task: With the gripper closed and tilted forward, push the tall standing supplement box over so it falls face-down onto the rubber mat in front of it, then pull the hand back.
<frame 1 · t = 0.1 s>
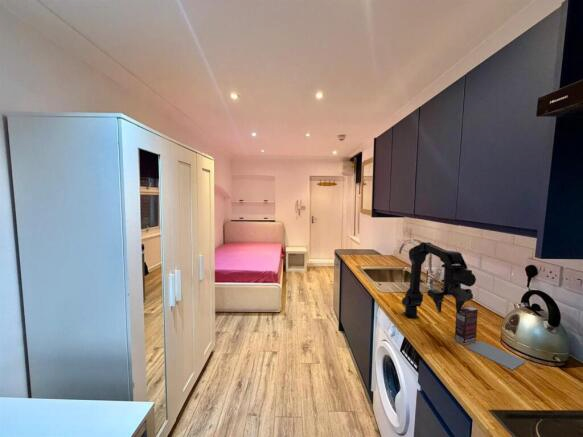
hand: (448, 312, 117), 15 cm above the countertop, tool pointing down, fingers open, 9 cm apart
supplement box: (464, 341, 120), on the countertop
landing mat: (494, 354, 109), on the countertop
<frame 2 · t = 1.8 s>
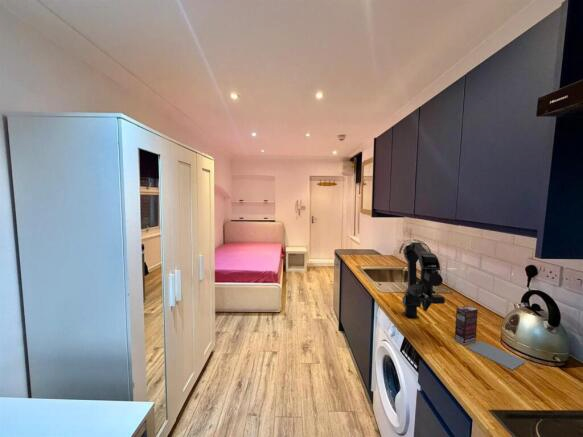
hand: (425, 310, 124), 12 cm above the countertop, tool pointing down, fingers closed
nothing on the countertop moved.
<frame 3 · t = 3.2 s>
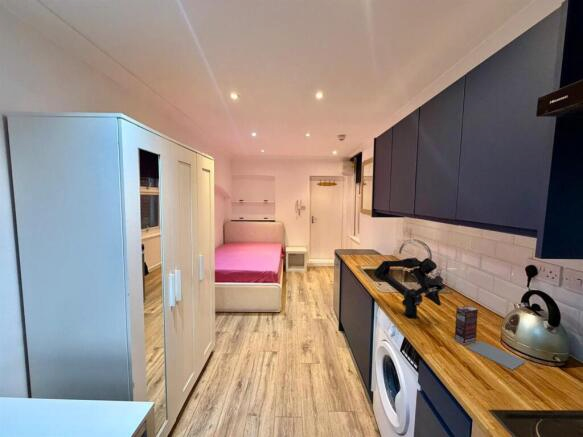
hand: (440, 305, 130), 12 cm above the countertop, tool tilted 45°, fingers closed
nothing on the countertop moved.
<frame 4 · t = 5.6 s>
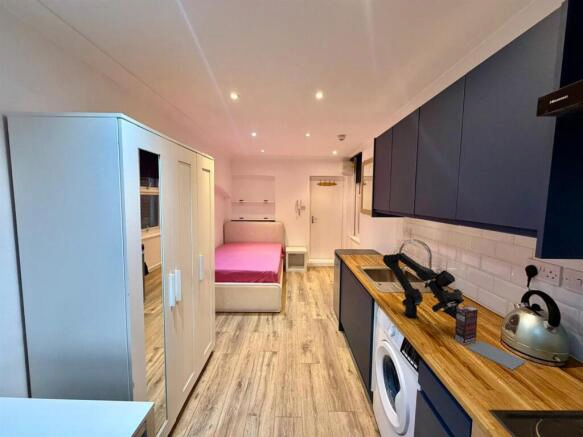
hand: (460, 321, 122), 8 cm above the countertop, tool tilted 45°, fingers closed
supplement box: (464, 341, 120), on the countertop, touching gripper
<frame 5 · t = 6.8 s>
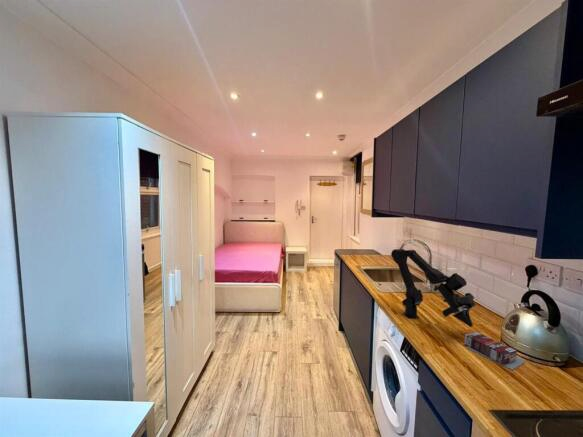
hand: (471, 326, 117), 8 cm above the countertop, tool tilted 45°, fingers closed
supplement box: (470, 337, 118), point 3 cm above the countertop, touching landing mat
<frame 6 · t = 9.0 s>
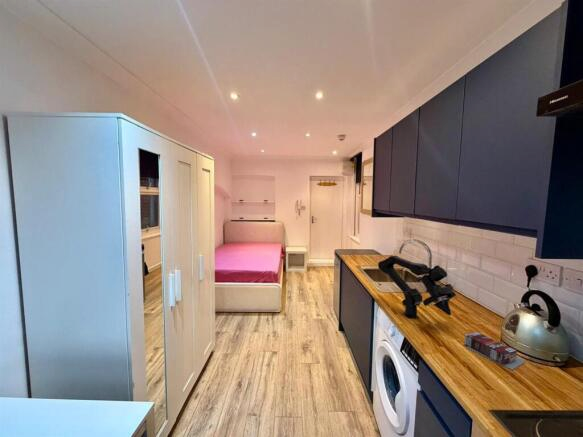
hand: (450, 315, 126), 10 cm above the countertop, tool tilted 45°, fingers closed
nothing on the countertop moved.
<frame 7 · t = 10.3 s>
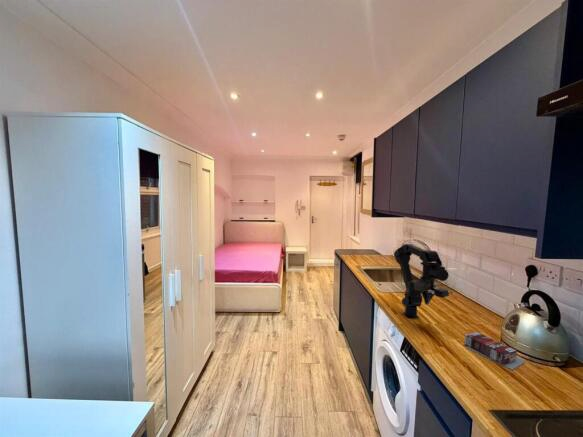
hand: (426, 304, 132), 12 cm above the countertop, tool pointing down, fingers closed
nothing on the countertop moved.
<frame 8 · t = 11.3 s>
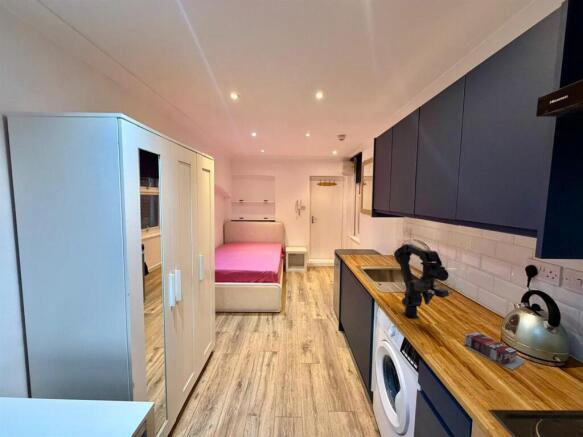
hand: (426, 304, 132), 12 cm above the countertop, tool pointing down, fingers closed
nothing on the countertop moved.
at the end: supplement box tilted 91°; supplement box inside the target area (1.9 cm from its centre), point 2.9 cm above the countertop; supplement box touching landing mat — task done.
